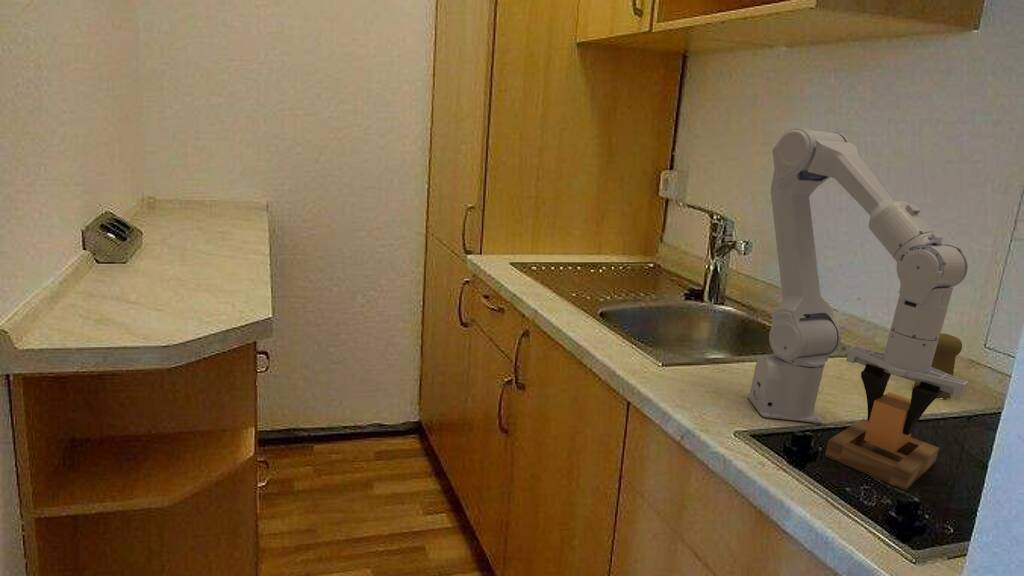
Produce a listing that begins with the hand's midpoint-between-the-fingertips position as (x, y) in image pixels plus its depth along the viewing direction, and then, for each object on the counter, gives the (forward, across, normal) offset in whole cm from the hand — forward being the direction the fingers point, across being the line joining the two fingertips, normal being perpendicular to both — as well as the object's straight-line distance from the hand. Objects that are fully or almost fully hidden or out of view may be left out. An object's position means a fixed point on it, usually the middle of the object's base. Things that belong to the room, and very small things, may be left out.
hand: (889, 426), depth 97 cm
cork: (+5, -4, +38) cm, 39 cm away
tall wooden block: (+2, 0, 0) cm, 2 cm away
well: (+5, 0, 0) cm, 5 cm away
